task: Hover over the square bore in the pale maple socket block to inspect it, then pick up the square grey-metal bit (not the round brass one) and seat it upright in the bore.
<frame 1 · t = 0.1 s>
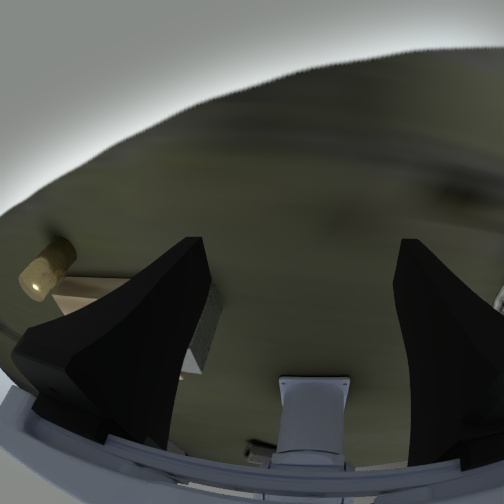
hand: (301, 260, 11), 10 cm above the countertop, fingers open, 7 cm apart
socket block: (127, 319, 32), on the countertop
pipe: (278, 447, 50), on the countertop
square bit: (201, 297, 28), on the countertop
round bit: (64, 249, 28), on the countertop
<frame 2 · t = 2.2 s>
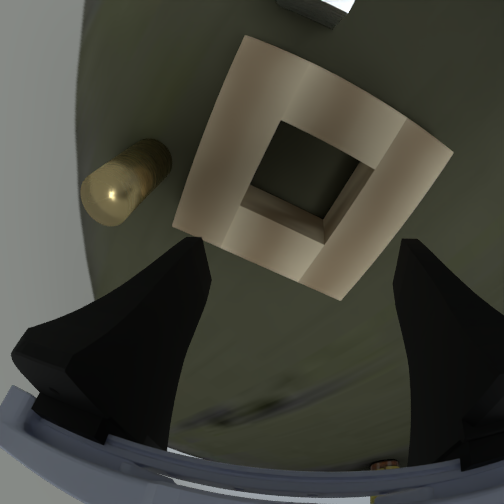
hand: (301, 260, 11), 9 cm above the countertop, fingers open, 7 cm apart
socket block: (306, 167, 19), on the countertop
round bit: (150, 160, 20), on the countertop
sauce bottle: (385, 462, 49), on the countertop
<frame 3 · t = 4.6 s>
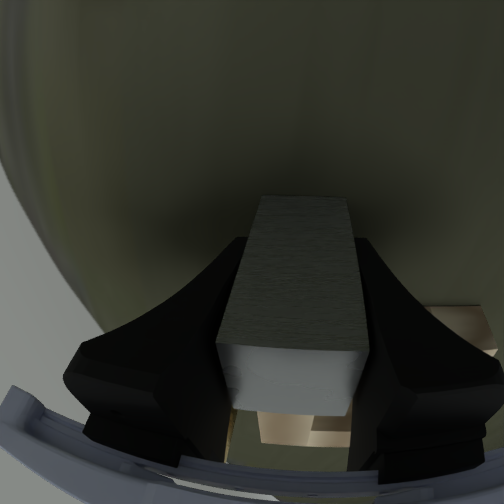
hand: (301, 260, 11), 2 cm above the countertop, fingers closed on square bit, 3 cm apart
socket block: (359, 372, 18), on the countertop
square bit: (303, 231, 13), on the countertop, touching gripper
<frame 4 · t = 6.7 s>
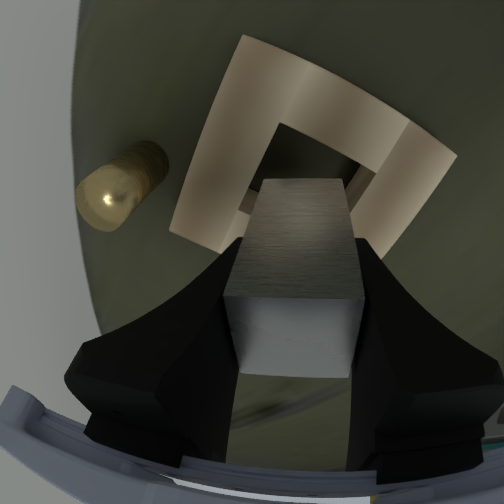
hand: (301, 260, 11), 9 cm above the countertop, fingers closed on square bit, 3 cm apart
socket block: (305, 170, 18), on the countertop
square bit: (303, 212, 13), point 6 cm above the countertop, touching gripper
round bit: (147, 163, 20), on the countertop
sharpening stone: (500, 401, 31), on the countertop
when the fingers open (4 cm above the countertop, at t = 8.9 s): square bit stays where it is, resting in socket block.
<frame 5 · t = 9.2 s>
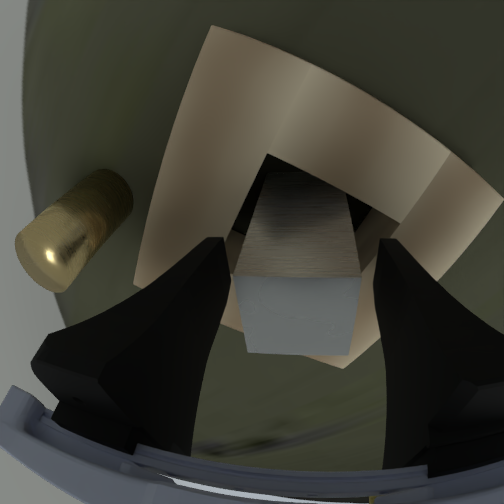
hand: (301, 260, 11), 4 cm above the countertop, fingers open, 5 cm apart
socket block: (304, 209, 14), on the countertop
square bit: (305, 204, 14), resting in socket block
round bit: (108, 196, 16), on the countertop
sauce bottle: (385, 485, 45), on the countertop
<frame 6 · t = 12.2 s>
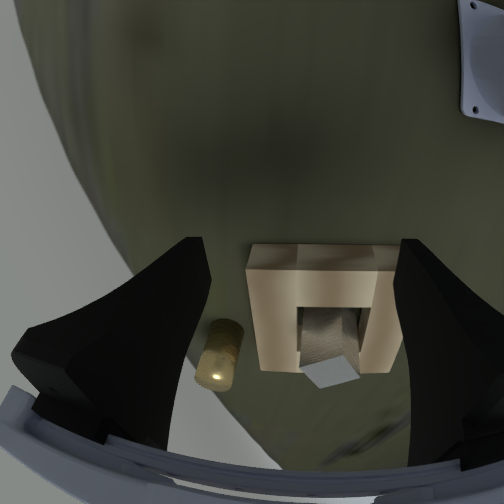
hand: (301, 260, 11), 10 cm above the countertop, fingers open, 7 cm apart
socket block: (331, 304, 25), on the countertop
square bit: (330, 302, 25), resting in socket block
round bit: (227, 330, 30), on the countertop
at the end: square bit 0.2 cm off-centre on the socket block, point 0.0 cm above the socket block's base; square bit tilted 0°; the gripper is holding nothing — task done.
